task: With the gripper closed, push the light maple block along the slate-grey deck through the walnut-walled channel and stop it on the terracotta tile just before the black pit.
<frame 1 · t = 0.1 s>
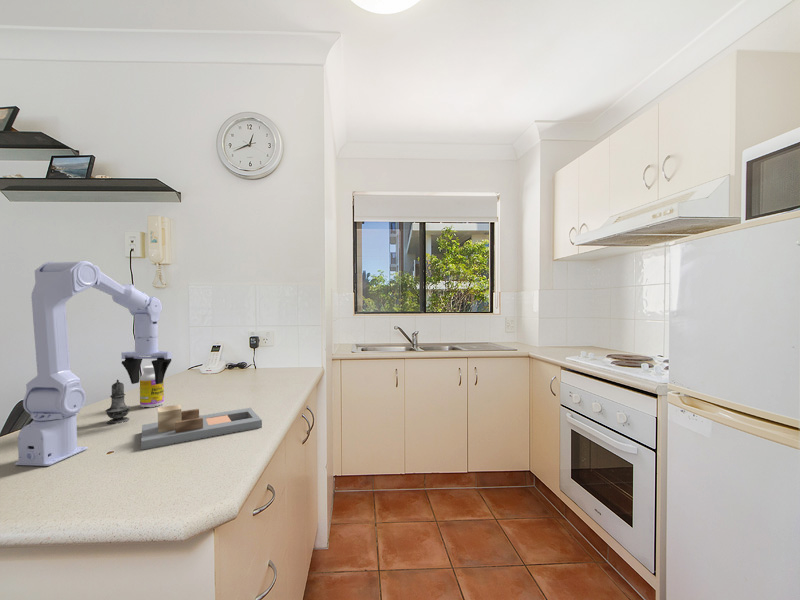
hand: (147, 383, 115), 10 cm above the countertop, tool pointing down, fingers open, 7 cm apart
deck: (202, 429, 103), on the countertop
block: (169, 427, 99), point 2 cm above the countertop, touching deck
supplement bottle: (152, 406, 128), on the countertop
salt shaker: (118, 421, 112), on the countertop
channel walls: (188, 432, 101), resting on deck
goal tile: (218, 427, 105), resting on deck
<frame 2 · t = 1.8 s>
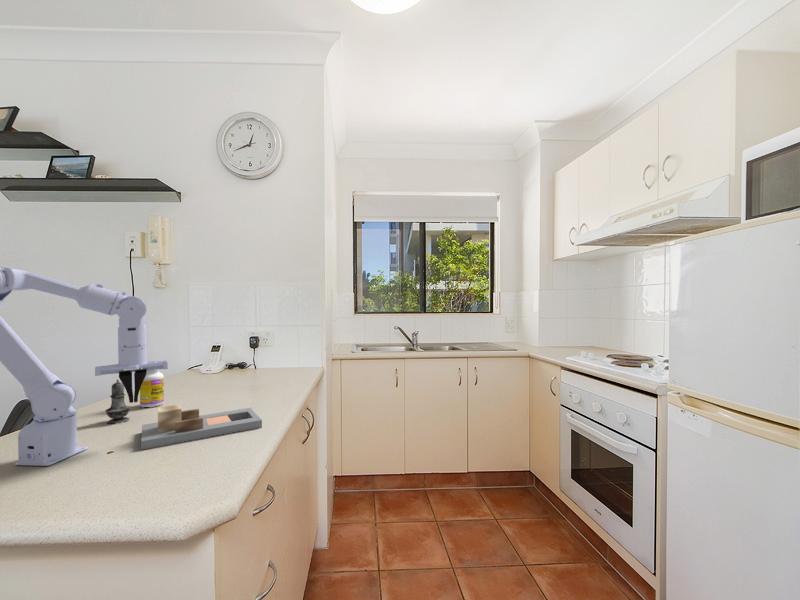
hand: (133, 401, 95), 10 cm above the countertop, tool pointing down, fingers closed
nothing on the countertop moved.
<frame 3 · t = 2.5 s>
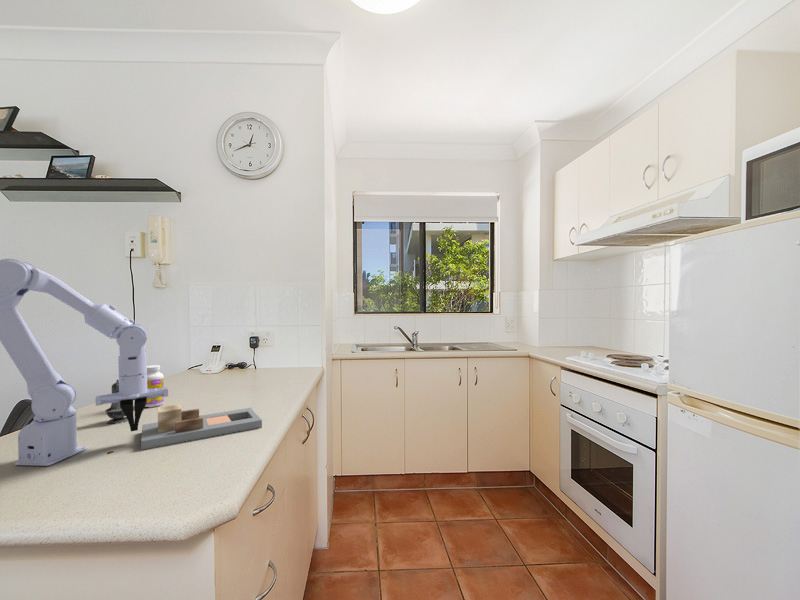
hand: (134, 429, 95), 3 cm above the countertop, tool pointing down, fingers closed
nothing on the countertop moved.
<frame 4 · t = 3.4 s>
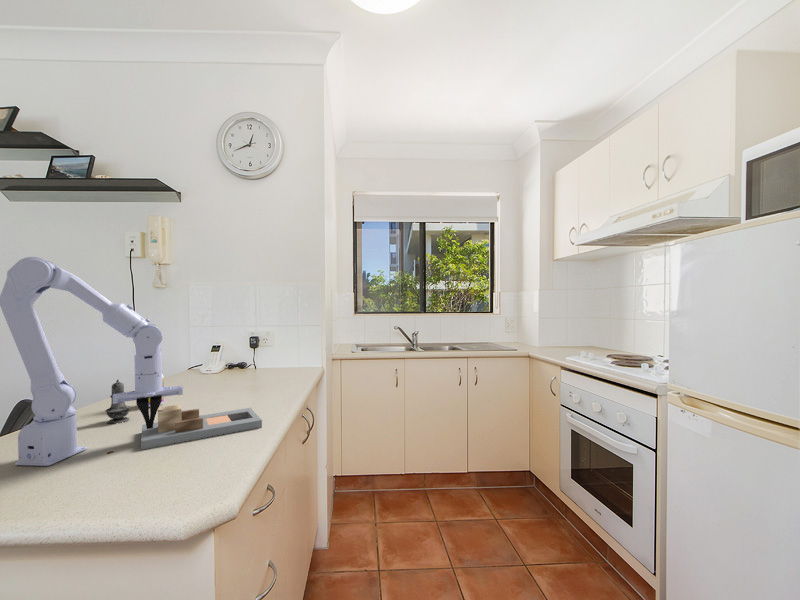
hand: (149, 427, 97), 3 cm above the countertop, tool pointing down, fingers closed
block: (169, 427, 99), point 2 cm above the countertop, touching deck, gripper
everything else where it was.
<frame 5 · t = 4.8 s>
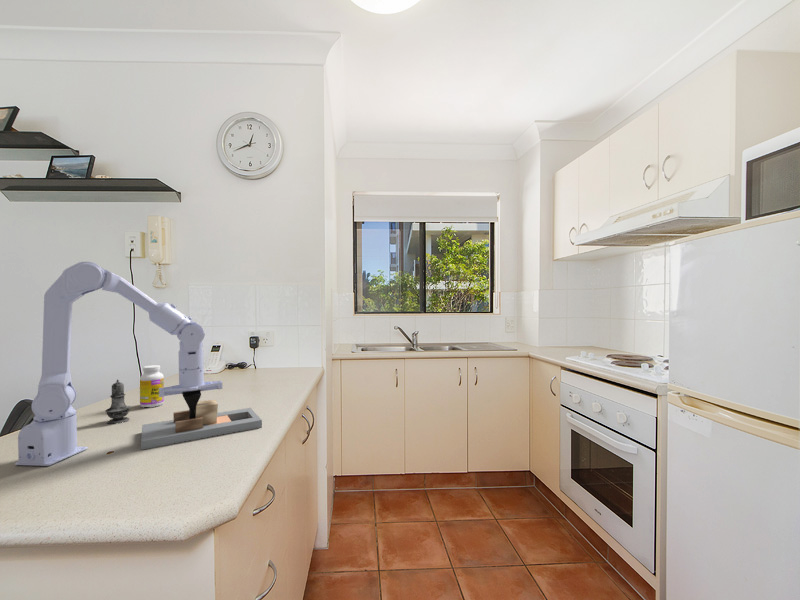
hand: (192, 420, 102), 3 cm above the countertop, tool pointing down, fingers closed, pressing on block
block: (205, 421, 104), point 2 cm above the countertop, touching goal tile, gripper
everything else where it was.
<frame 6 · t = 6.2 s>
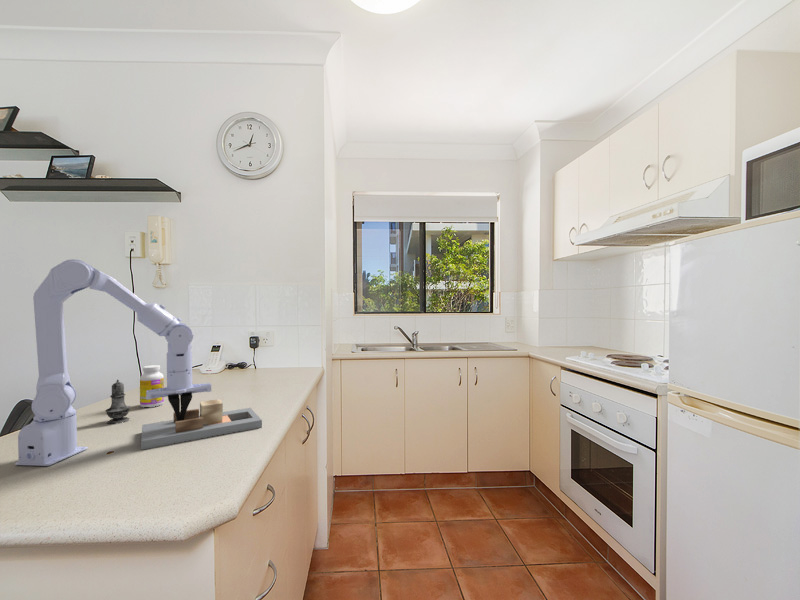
hand: (180, 422, 101), 3 cm above the countertop, tool pointing down, fingers closed
block: (211, 421, 104), point 2 cm above the countertop, touching deck, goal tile
everything else where it was.
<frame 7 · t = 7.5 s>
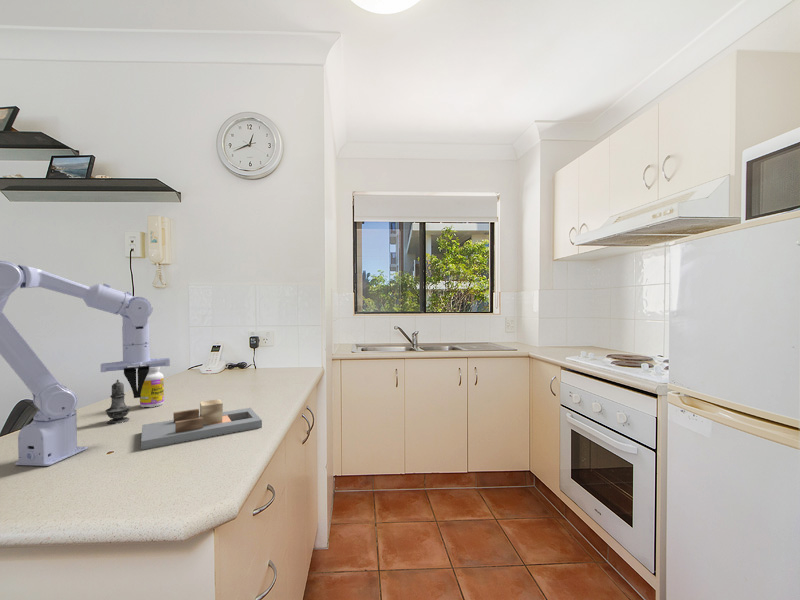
hand: (137, 397, 99), 10 cm above the countertop, tool pointing down, fingers closed
nothing on the countertop moved.
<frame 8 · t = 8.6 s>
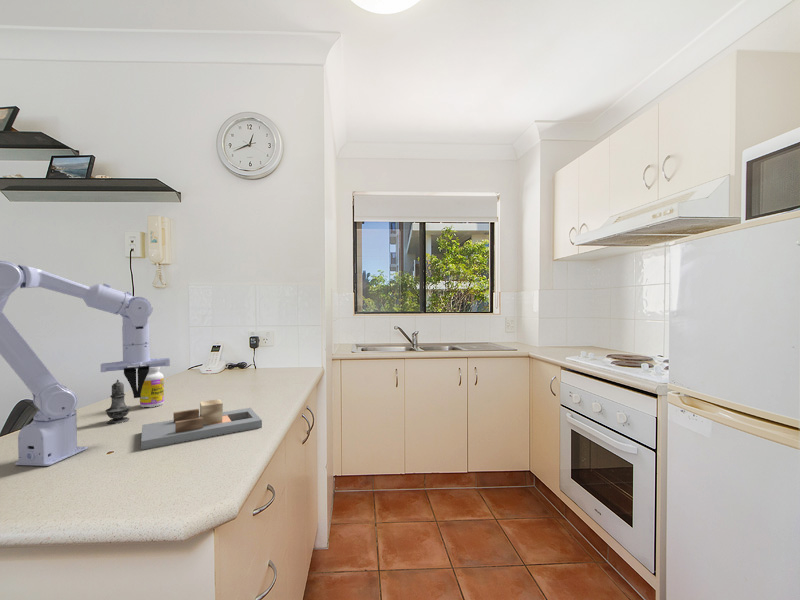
hand: (137, 397, 99), 10 cm above the countertop, tool pointing down, fingers closed
nothing on the countertop moved.
at the end: block 1.8 cm from the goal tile (horizontally); block point 2.0 cm above the countertop; block tilted 2° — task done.
